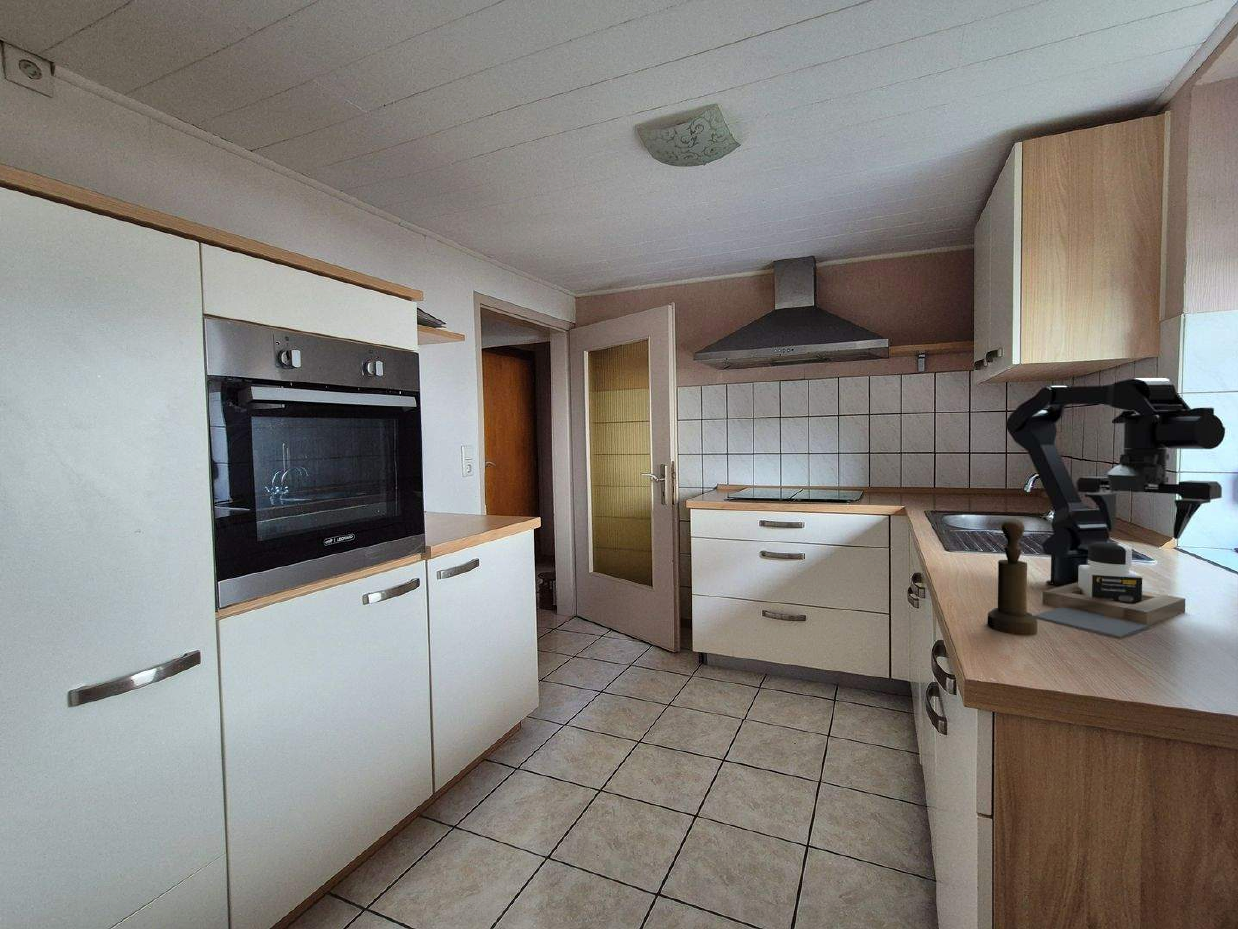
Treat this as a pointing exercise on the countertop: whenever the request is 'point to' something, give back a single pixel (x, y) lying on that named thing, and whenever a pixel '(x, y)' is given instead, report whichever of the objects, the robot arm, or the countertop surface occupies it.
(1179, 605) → the brown flat square frame
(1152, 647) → the countertop surface
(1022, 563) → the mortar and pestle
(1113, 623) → the mat
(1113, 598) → the medicine bottle
